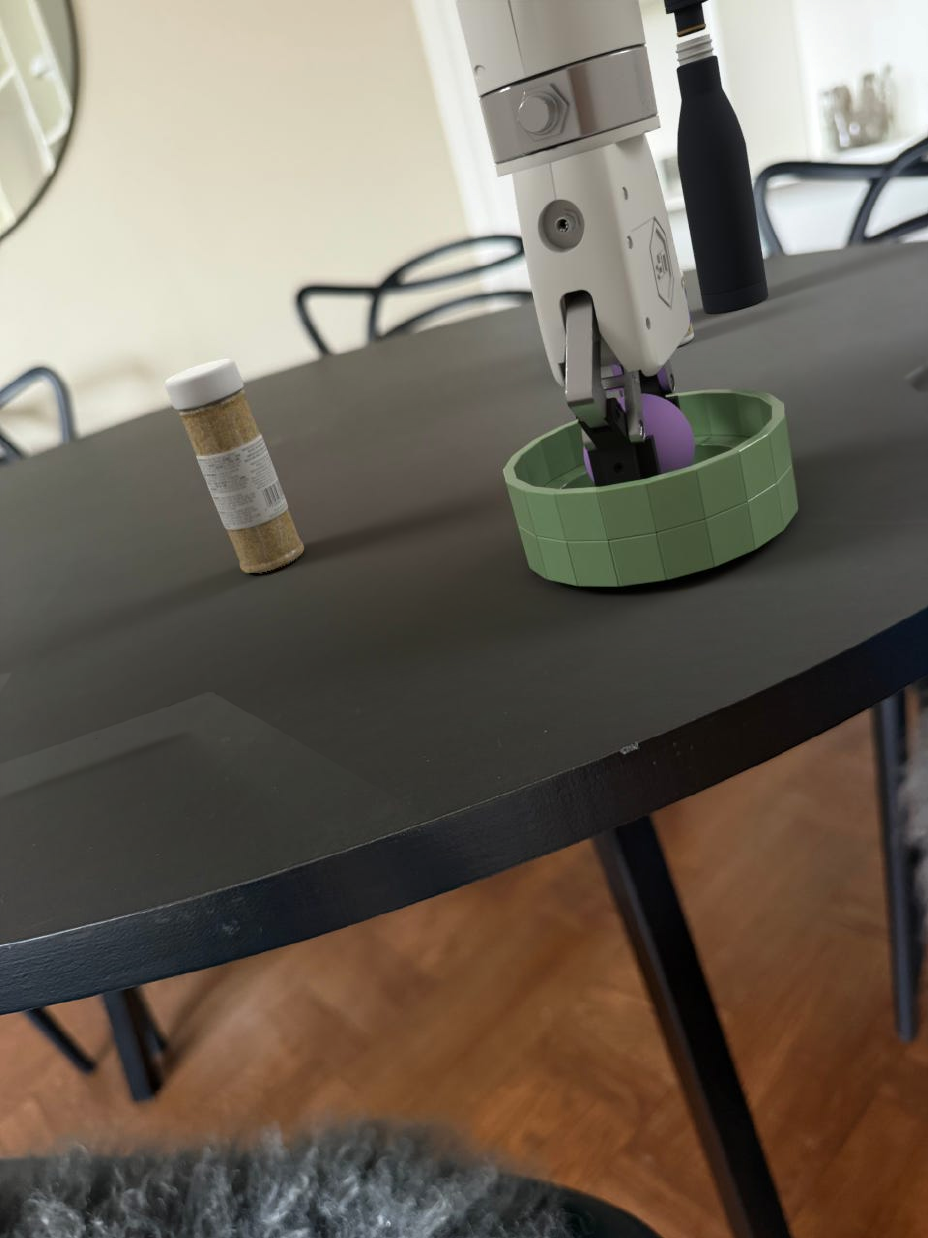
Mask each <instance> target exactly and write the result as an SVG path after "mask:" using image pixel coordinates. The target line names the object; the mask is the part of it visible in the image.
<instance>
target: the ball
mask: <svg viewBox="0 0 928 1238" xmlns="http://www.w3.org/2000/svg"><path fill="white" fill-rule="evenodd" d="M616 399H617V401H618V402H619V403H620V404H621V406H622V408H623V410H624V411H625V404H624V396H623V397H621V396H620V397H618V398H616ZM641 399H642V407H643V416H644V425H645V436H649V435H654V440H655V445H656V450H657V455H658V460H659V465H660V470H661V474H665V473H668V472H672V471H676V470H679V469H683V468H686V467H690V466H692V463H693V460H694V454H695V443H694V436H693V432H692V429H691V426H690V424H689V422H688V420H687V419H686V417H685V416H684V414H683V413H682V412H681V411H680V410H679V409H678V408H677V407H676V406H675V405H674V404H672V403H671V402H669V401H667V400H665V399H663V398H661V397H658V396H655V395H651V394H641ZM625 413H626V412H625ZM583 449H584V461H585V465H586V469H587V471H588V474H589V476H590V478H591V479H592V481H593V482H594V478H593V474H592V470H591V466H590V461H589V457H588V453H587V450H586V449H585V447H584V448H583ZM594 484H595V483H594Z"/></svg>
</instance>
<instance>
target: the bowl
mask: <svg viewBox="0 0 928 1238" xmlns="http://www.w3.org/2000/svg"><path fill="white" fill-rule="evenodd" d="M676 395H678V399H679V404H680V410H681V412H682V413H683V414H684V416H685V417H686V419H687V420H688V422H689V424H690V426H691V429H692V432H693V436H694V443H695V454H694V460H693V463H692V466H690V467H686V468H683V469H679V470H676V471H672V472H668V473H665V474H661V475H658V476H654V477H651V478H647V479H642V480H636V481H631V482H625V483H620V484H614V485H608V486H603V487H595V484H594V482H593V481H592V479H591V478H590V476H589V474H588V471H587V469H586V465H585V461H584V449H583V448H584V443H583V438H582V430H581V426H580V424H578V423H577V422H578V419H576V420H573V421H570V422H568V423H565V424H562V425H560V426H557V427H556V428H554V429H551V430H550V431H548V432H546V433H544V434H542V435H541V436H540V435H539V436H538V437H537V438H535V439H533V440H531V441H530V442H528V443H527V444H525V446H523V447H522V448H521V449H519V450H517V452H515V453H514V454H513V455H512V456H511V457H510V458H509V460H508V462H507V463H506V464H505V466H504V468H503V470H502V474H503V477H504V481H505V485H506V487H507V491H508V496H509V498H510V502H511V506H512V509H513V513H514V517H515V520H516V524H517V527H518V531H519V535H520V539H521V542H522V546H523V549H524V553H525V556H526V557H525V558H526V561H527V564H528V567H529V569H530V570H531V571H533V572H535V573H536V574H537V575H539V576H541V577H542V578H544V579H545V580H547V581H551V582H556V583H561V584H565V585H570V586H575V587H584V588H585V587H589V588H590V587H592V588H594V587H597V588H598V587H599V588H603V587H604V588H605V587H606V588H609V587H610V588H618V587H628V586H635V585H642V584H650V583H657V582H663V581H670V580H672V579H676V578H680V577H684V576H688V575H691V574H695V573H698V572H702V571H706V570H710V569H713V568H716V567H719V566H721V565H724V564H725V563H728V562H730V561H732V560H735V559H737V558H739V557H742V556H744V555H747V554H749V553H751V552H754V551H755V550H757V549H760V547H762V546H763V545H765V544H766V543H767V542H769V541H771V540H772V539H773V538H775V537H777V536H778V535H779V534H781V533H783V531H784V530H785V529H786V528H787V526H788V525H789V524H790V522H791V521H792V520H793V518H794V517H795V515H796V514H797V513H798V511H799V497H798V496H799V494H798V487H797V480H796V473H795V468H794V461H793V455H792V448H791V447H792V446H791V441H790V433H789V427H788V420H787V414H786V406H785V403H784V401H782V400H780V399H778V398H777V397H776V396H774V395H772V394H771V393H768V392H761V391H756V390H750V389H745V388H730V389H729V388H726V389H724V388H723V389H720V388H719V389H717V388H716V389H715V388H713V389H712V388H711V389H701V390H694V391H693V390H692V391H683V392H675V394H672V395H666V397H670V396H676Z"/></svg>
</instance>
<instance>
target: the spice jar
mask: <svg viewBox="0 0 928 1238" xmlns="http://www.w3.org/2000/svg"><path fill="white" fill-rule="evenodd" d="M244 385H245V384H244V381H243V379H242V377H241V373H240V371H239V369H238V366H237V364H236V361H235V360H234V359H232V358H220V359H217V360H212V361H208V362H205V363H201V364H199V365H195V366H193V367H190V368H188V369H185V370H182V371H180V372H178V373H176V374H174V375H173V376H170V377H169V378H168V379H166V381H165V382H164V387H165V389H166V392H167V395H168V397H169V400H170V402H171V404H172V407H173V409H174V410H177V411H178V415H179V417H180V418H181V421H182V423H183V425H184V428H185V430H186V433H187V436H188V439H189V441H190V443H191V445H192V448H193V452H194V453H195V457H196V460H197V463H198V465H199V467H200V470H201V472H202V473H201V474H202V475H203V477H204V479H205V483H206V486H207V488H208V491H209V493H210V495H211V497H212V500H213V503H214V505H215V507H216V510H217V512H218V515H219V518H220V520H221V522H222V524H223V527H224V528H225V529H226V532H227V535H228V536H229V538H230V541H231V543H232V546H233V548H234V550H235V553H236V556H237V559H238V560H239V568H240V569H241V571H242V572H243V573H245V574H249V573H259V574H263V573H262V572H266V573H268V572H267V571H270V572H272V571H271V570H273V571H275V570H274V569H276V568H278V569H280V568H279V567H281V568H283V567H282V566H284V567H285V566H287V565H289V564H291V563H293V562H295V561H296V560H298V559H299V558H300V557H301V555H302V554H303V552H304V550H305V545H304V543H303V541H302V540H301V539H300V536H299V534H298V532H297V529H296V527H295V523H294V522H293V519H292V516H291V513H290V511H289V504H288V502H287V499H286V495H285V494H284V491H283V488H282V485H281V483H280V479H279V478H278V475H277V472H276V469H275V467H274V464H273V462H272V459H271V456H270V453H269V452H268V449H267V445H266V443H265V441H264V438H263V435H262V433H260V431H259V428H258V426H257V422H256V420H255V419H254V415H253V412H252V410H251V408H250V405H249V402H248V401H247V397H246V390H245V389H243V387H244ZM299 556H300V557H299ZM298 557H299V558H298ZM295 559H296V560H295ZM294 560H295V561H294ZM292 561H293V562H292ZM290 562H291V563H290ZM286 564H287V565H286ZM276 570H277V569H276Z"/></svg>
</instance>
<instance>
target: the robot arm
mask: <svg viewBox="0 0 928 1238" xmlns="http://www.w3.org/2000/svg"><path fill="white" fill-rule="evenodd" d="M454 2H455V6H456V10H457V15H458V18H459V19H458V20H459V22H460V26H461V31H462V34H463V39H464V44H465V47H466V51H467V55H468V60H469V64H470V68H471V72H472V76H473V80H474V84H475V88H476V93H477V96H478V99H479V98H480V99H479V105H480V110H481V113H482V118H483V121H484V126H485V130H486V135H487V138H488V143H489V147H490V151H491V154H492V155H491V156H492V159H493V163H494V164H495V165H494V167H495V171H496V177H498V178H500V177H504V176H509V175H512V176H511V177H512V182H513V183H512V184H513V189H514V198H515V204H516V210H517V216H518V223H519V228H520V229H519V230H520V235H521V241H522V246H523V252H524V257H525V261H526V269H527V272H528V278H529V284H530V288H531V293H532V298H533V303H534V307H535V311H536V316H537V321H538V325H539V330H540V335H541V338H542V342H543V346H544V349H545V353H546V357H547V360H548V363H549V367H550V371H551V373H552V375H553V377H554V380H555V382H556V383H557V384H558V385H559V386H560V387H562V388H564V389H565V401H566V404H567V406H568V408H569V410H570V411H571V412H572V413H573V415H575V419H576V420H578V422H577V423H578V424H580V426H581V430H582V438H583V443H584V447H585V449H586V450H587V453H588V457H589V461H590V466H591V470H592V474H593V478H594V483H595V487H603V486H608V485H614V484H620V483H625V482H631V481H636V480H642V479H647V478H651V477H654V476H658V475H661V470H660V465H659V460H658V455H657V450H656V445H655V440H654V435H649V436H645V425H644V416H643V407H642V399H641V394H651V395H655V396H658V397H661V398H663V399H665V400H667V401H669V402H671V403H672V404H674V405H675V406H676V407H677V408H678V409H679V410H680V404H679V399H678V395H676V396H670V397H666V395H672V394H675V393H676V381H675V375H674V372H673V369H672V365H671V362H670V361H671V360H670V358H671V356H672V355H673V354H674V352H675V351H676V349H678V347H679V346H678V345H679V344H680V342H681V341H682V339H683V338H684V336H685V335H686V333H687V331H688V329H689V325H690V316H691V314H690V315H689V310H690V309H689V310H688V305H687V300H686V295H685V291H684V286H683V282H682V277H681V273H680V268H681V267H680V263H679V258H678V255H677V250H676V246H675V242H674V237H673V233H672V228H671V223H670V220H669V215H668V210H667V206H666V201H665V198H664V194H663V190H662V186H661V182H660V178H659V175H658V170H657V168H656V164H655V159H654V157H653V154H652V153H653V152H652V150H651V147H650V145H649V141H648V138H647V135H646V133H651V132H654V131H656V130H658V129H660V128H662V126H661V120H660V115H659V114H658V113H659V110H658V104H657V100H656V94H655V89H654V83H653V78H652V77H653V75H652V71H651V65H650V60H649V54H648V48H647V46H646V44H647V41H646V35H645V29H644V25H643V19H642V13H641V8H640V7H641V6H640V0H454ZM679 267H680V268H679ZM609 366H610V369H611V372H612V376H605V377H602V368H604V367H609ZM613 392H618V393H619V396H620V397H623V396H624V404H625V411H624V410H623V408H622V406H621V404H620V403H619V402H618V401H617V399H618V398H617V397H615V396H613V397H607V394H608V393H613ZM680 411H681V410H680ZM625 412H626V413H625Z"/></svg>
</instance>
